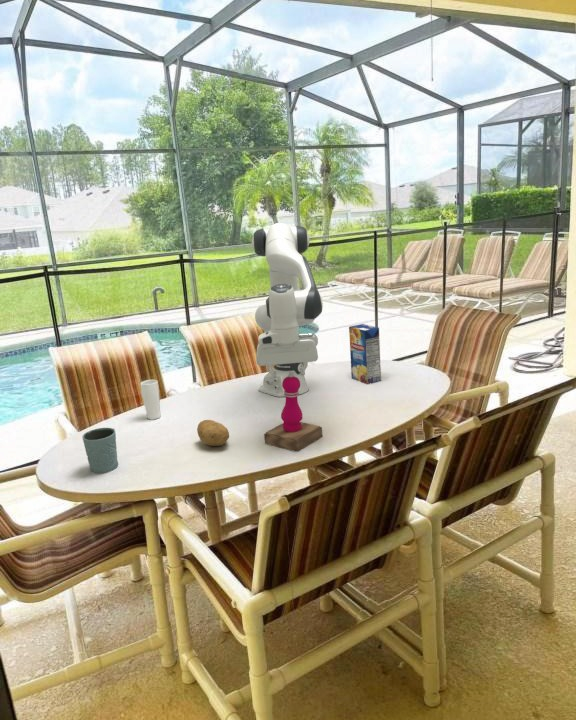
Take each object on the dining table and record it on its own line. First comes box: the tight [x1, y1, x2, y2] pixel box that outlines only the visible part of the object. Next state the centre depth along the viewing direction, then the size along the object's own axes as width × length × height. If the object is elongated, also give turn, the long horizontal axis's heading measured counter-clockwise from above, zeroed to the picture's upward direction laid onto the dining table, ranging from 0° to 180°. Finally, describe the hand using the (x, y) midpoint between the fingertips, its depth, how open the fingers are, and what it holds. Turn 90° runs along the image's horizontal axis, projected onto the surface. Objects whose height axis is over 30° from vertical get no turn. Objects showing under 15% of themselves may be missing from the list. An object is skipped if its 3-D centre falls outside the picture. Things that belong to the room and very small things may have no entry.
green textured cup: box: [82, 427, 119, 475], centre depth 179 cm, size 10×10×12 cm
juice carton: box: [348, 323, 382, 385], centre depth 246 cm, size 12×8×24 cm, turn 28°
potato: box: [196, 419, 230, 447], centre depth 191 cm, size 10×14×8 cm
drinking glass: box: [140, 379, 161, 421], centre depth 221 cm, size 7×7×15 cm
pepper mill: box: [280, 372, 304, 432], centre depth 186 cm, size 7×7×20 cm
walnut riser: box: [263, 421, 323, 453], centre depth 190 cm, size 14×14×4 cm
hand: (288, 376), depth 184 cm, fingers open, 8 cm apart
